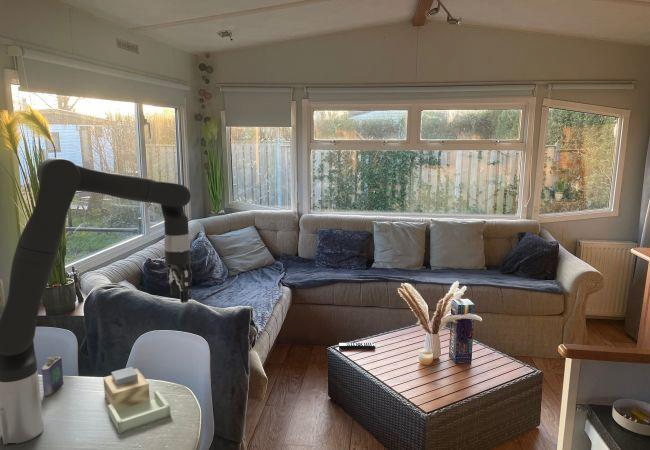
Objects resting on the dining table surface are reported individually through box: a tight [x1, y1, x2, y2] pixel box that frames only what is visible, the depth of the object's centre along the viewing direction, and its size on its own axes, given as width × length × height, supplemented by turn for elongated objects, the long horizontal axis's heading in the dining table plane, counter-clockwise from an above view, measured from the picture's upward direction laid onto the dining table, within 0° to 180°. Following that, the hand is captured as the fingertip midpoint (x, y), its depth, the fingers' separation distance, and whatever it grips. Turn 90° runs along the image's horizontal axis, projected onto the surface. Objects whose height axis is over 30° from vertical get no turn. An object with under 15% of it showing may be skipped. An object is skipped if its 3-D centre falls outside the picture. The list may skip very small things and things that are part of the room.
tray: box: [108, 389, 171, 434], centre depth 135 cm, size 14×11×3 cm
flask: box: [41, 356, 64, 397], centre depth 149 cm, size 9×3×11 cm, turn 2°
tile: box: [110, 366, 138, 386], centre depth 144 cm, size 6×6×2 cm
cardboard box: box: [102, 368, 150, 411], centre depth 144 cm, size 10×12×6 cm
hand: (179, 298), depth 148 cm, fingers open, 8 cm apart
